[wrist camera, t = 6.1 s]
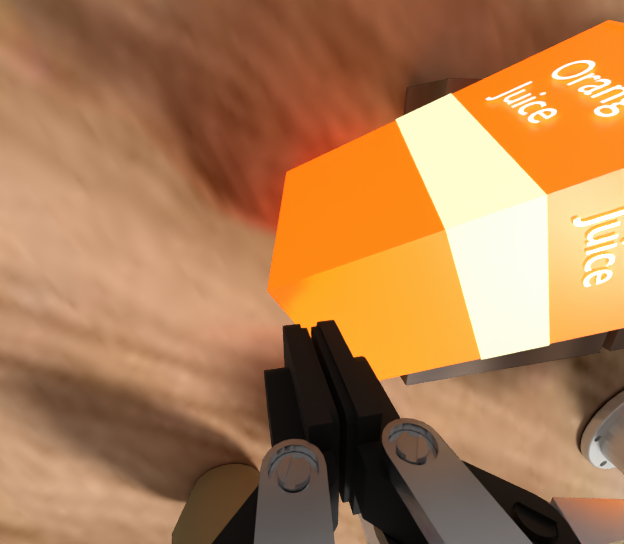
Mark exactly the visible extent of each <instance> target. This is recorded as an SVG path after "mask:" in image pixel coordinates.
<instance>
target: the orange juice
mask: <svg viewBox="0 0 624 544" xmlns="http://www.w3.org/2000/svg"><path fill="white" fill-rule="evenodd" d="M267 291H268V293H269V294H270V295H271V296H272V297H273V298H274V300H275V301H276V302H277V303H278V304H279V305H280V307H281V308H282V309H283V310H284V311H285V312H286V313H287V315H288V316H289V317H290V318H291V319H292V320H293V322H294V323H295V324H300V325H301V328H306V327H307V329H308V332H309V334H310V337H311V327H314V326H316V324H317V322H318V321H327V320H334V321H335V322H336V324H337V326H338V328H339V330H340V332H341V334H342V336H343V338H344V340H345V342H346V343H347V345H348V347H349V349H350V351H351V353H352V355H353V357H359V356H364V357H365V358H366V359H367V361H368V362H369V364H370V366H371V368H372V369H373V371H374V373H375V375H376V377H377V378H378V380H383V379H387V378H392V377H397V376H401V375H406V374H411V373H415V372H420V371H425V370H429V369H434V368H439V367H443V366H448V365H453V364H457V363H462V362H467V361H471V360H476V359H481V360H483V359H487V358H492V357H497V356H501V355H506V354H511V353H516V352H520V351H525V350H530V349H534V348H539V347H544V346H548V345H550V344H551V343H555V342H560V341H565V340H569V339H574V338H579V337H583V336H588V335H593V334H597V333H602V332H607V331H611V330H616V329H621V328H624V23H621V22H616V21H612V20H608V21H606V22H603V23H601V24H599V25H597V26H595V27H593V28H591V29H589V30H586V31H584V32H582V33H580V34H578V35H576V36H574V37H572V38H569V39H567V40H565V41H563V42H561V43H559V44H557V45H555V46H553V47H550V48H548V49H546V50H544V51H542V52H540V53H538V54H536V55H533V56H531V57H529V58H527V59H525V60H523V61H521V62H519V63H516V64H514V65H512V66H510V67H508V68H506V69H504V70H502V71H500V72H497V73H495V74H493V75H491V76H489V77H487V78H485V79H483V80H480V81H478V82H476V83H474V84H472V85H470V86H468V87H466V88H464V89H461V90H459V91H457V92H455V93H453V94H451V93H450V94H448V95H446V96H444V97H442V98H440V99H438V100H435V101H433V102H431V103H429V104H427V105H425V106H423V107H421V108H418V109H416V110H414V111H412V112H410V113H408V114H406V115H404V116H402V117H399V118H397V119H396V121H394V122H391V123H389V124H387V125H385V126H383V127H381V128H379V129H377V130H374V131H372V132H370V133H368V134H366V135H364V136H362V137H360V138H358V139H355V140H353V141H351V142H349V143H347V144H345V145H343V146H341V147H338V148H336V149H334V150H332V151H330V152H328V153H326V154H324V155H321V156H319V157H317V158H315V159H313V160H311V161H309V162H307V163H305V164H302V165H300V166H298V167H296V168H294V169H292V170H290V171H288V172H286V178H285V184H284V190H283V196H282V203H281V209H280V215H279V221H278V227H277V234H276V240H275V246H274V252H273V258H272V265H271V271H270V277H269V283H268V289H267Z"/></svg>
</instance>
